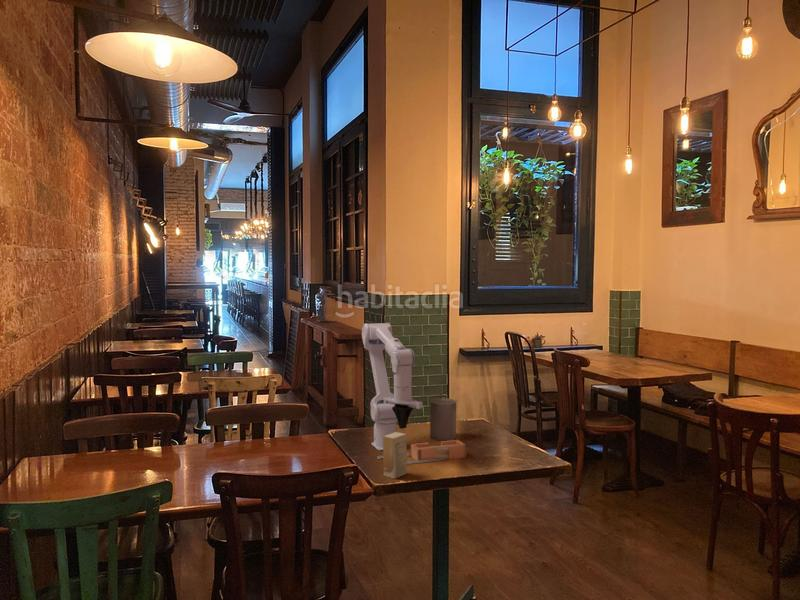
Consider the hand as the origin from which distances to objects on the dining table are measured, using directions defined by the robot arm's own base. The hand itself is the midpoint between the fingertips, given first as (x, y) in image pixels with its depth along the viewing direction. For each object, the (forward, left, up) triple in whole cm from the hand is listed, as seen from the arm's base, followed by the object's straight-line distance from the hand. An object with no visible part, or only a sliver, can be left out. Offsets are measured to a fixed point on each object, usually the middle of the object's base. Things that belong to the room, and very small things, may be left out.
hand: (402, 427), depth 203 cm
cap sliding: (+2, +6, -10) cm, 12 cm away
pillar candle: (-21, +23, -10) cm, 33 cm away
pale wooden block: (+2, +12, -10) cm, 16 cm away
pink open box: (+2, +17, -10) cm, 19 cm away
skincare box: (+16, -8, -10) cm, 21 cm away
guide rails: (+2, +3, -10) cm, 10 cm away
